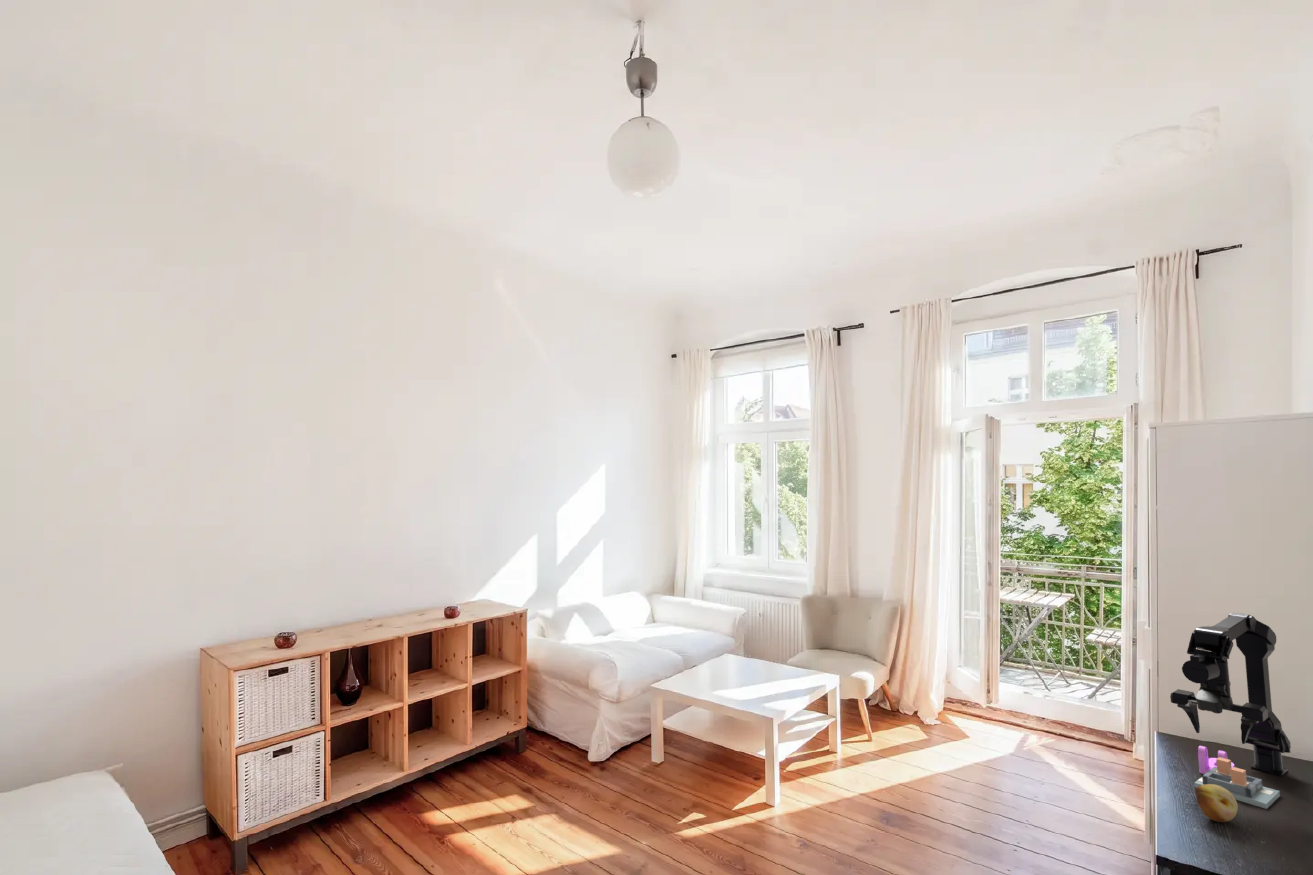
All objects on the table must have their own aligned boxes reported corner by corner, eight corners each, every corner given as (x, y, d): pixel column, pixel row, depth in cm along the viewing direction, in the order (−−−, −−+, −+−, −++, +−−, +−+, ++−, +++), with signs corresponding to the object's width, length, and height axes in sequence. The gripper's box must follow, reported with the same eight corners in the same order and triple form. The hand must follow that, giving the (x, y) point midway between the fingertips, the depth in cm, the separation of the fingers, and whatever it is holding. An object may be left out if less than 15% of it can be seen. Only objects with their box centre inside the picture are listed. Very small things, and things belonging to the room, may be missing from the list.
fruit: (1199, 823, 148) (1196, 787, 149) (1194, 808, 155) (1192, 774, 155) (1242, 832, 143) (1239, 796, 144) (1236, 817, 150) (1233, 782, 151)
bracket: (1226, 780, 170) (1223, 753, 171) (1199, 773, 175) (1197, 747, 175) (1236, 767, 178) (1234, 742, 179) (1211, 761, 183) (1209, 736, 183)
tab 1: (1219, 775, 169) (1218, 756, 170) (1234, 779, 167) (1232, 760, 167) (1216, 778, 168) (1214, 758, 168) (1230, 782, 165) (1229, 762, 166)
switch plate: (1209, 775, 173) (1208, 763, 173) (1279, 795, 161) (1278, 782, 161) (1194, 787, 166) (1193, 774, 166) (1266, 808, 154) (1265, 795, 155)
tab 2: (1234, 786, 163) (1232, 766, 164) (1249, 790, 161) (1247, 770, 161) (1230, 789, 162) (1228, 768, 162) (1245, 793, 159) (1244, 773, 160)
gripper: (1161, 674, 170) (1166, 734, 169) (1254, 692, 155) (1260, 757, 154) (1175, 667, 176) (1179, 725, 175) (1265, 683, 161) (1271, 746, 160)
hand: (1220, 738), depth 166 cm, fingers open, 9 cm apart
